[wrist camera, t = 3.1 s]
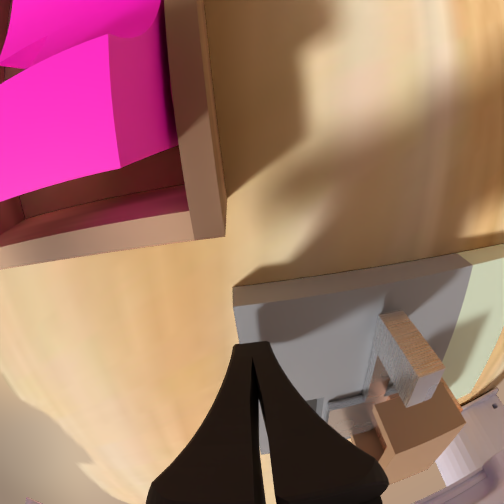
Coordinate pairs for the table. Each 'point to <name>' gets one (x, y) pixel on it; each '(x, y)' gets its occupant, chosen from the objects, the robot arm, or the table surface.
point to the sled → (390, 376)
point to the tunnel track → (362, 335)
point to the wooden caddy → (148, 202)
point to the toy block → (82, 90)
